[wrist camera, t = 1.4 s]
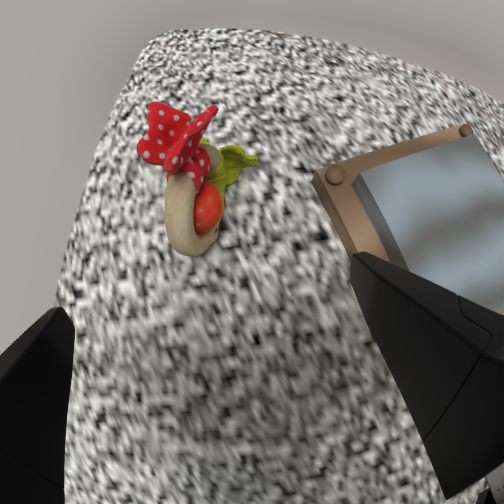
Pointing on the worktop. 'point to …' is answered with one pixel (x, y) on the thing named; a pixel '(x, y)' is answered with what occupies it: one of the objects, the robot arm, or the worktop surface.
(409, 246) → the wooden toy tray
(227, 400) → the worktop surface
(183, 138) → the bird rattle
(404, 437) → the worktop surface
